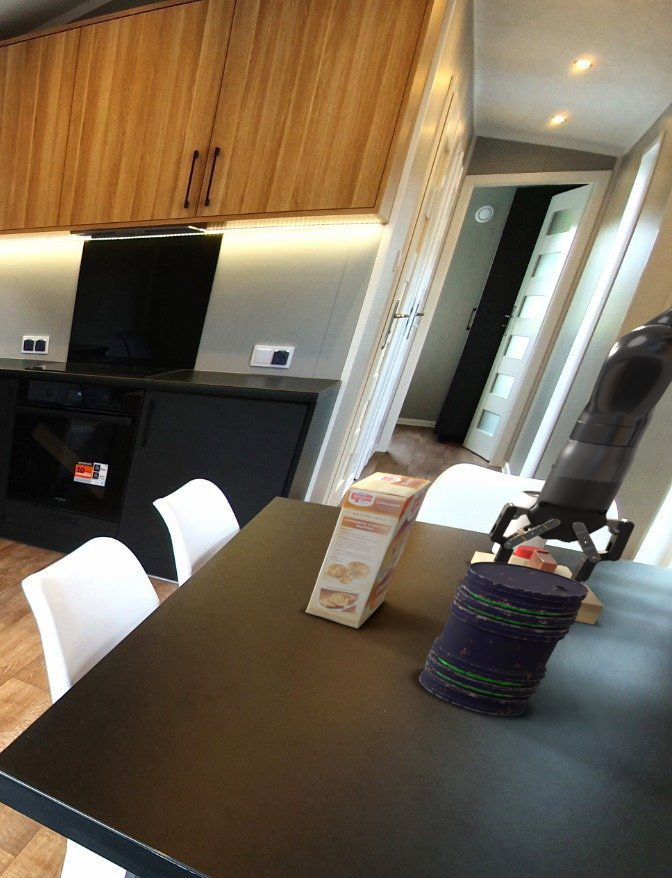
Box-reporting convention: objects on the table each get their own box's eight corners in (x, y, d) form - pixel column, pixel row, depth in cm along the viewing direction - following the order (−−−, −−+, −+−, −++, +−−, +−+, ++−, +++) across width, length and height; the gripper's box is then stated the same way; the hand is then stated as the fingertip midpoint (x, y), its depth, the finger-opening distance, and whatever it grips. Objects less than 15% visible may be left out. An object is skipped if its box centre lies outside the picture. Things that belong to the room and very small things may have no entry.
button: (540, 557, 109) (545, 548, 108) (544, 563, 106) (549, 554, 105) (512, 553, 110) (516, 543, 110) (515, 559, 108) (520, 549, 107)
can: (488, 548, 124) (515, 488, 118) (533, 555, 120) (563, 493, 115) (493, 557, 119) (522, 495, 114) (540, 565, 115) (572, 501, 110)
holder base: (577, 600, 101) (586, 582, 100) (594, 626, 93) (605, 606, 91) (463, 579, 108) (470, 562, 107) (470, 601, 100) (478, 583, 99)
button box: (561, 578, 110) (572, 556, 108) (572, 595, 103) (584, 572, 101) (470, 562, 116) (479, 542, 114) (476, 577, 110) (486, 555, 108)
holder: (544, 592, 96) (558, 563, 94) (529, 589, 97) (544, 560, 95) (535, 578, 101) (548, 550, 100) (521, 575, 102) (535, 548, 100)
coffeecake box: (358, 629, 90) (410, 496, 82) (302, 612, 95) (346, 485, 87) (385, 601, 99) (434, 479, 91) (333, 587, 104) (375, 470, 96)
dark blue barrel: (399, 679, 78) (448, 567, 72) (446, 664, 82) (496, 556, 75) (497, 724, 70) (562, 602, 63) (544, 705, 73) (610, 588, 67)
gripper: (525, 470, 93) (479, 572, 100) (667, 486, 86) (607, 595, 92) (517, 462, 99) (473, 559, 105) (650, 476, 91) (594, 579, 98)
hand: (536, 576), depth 99 cm, fingers open, 8 cm apart
